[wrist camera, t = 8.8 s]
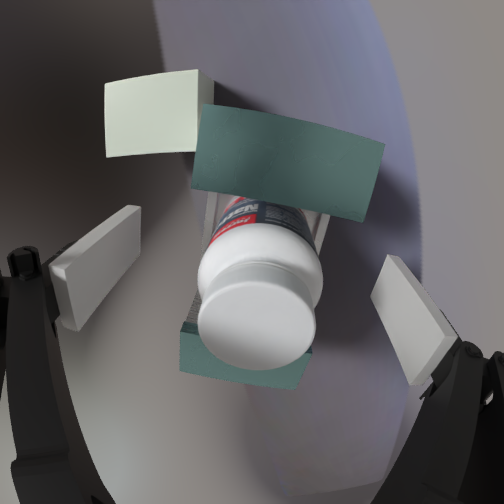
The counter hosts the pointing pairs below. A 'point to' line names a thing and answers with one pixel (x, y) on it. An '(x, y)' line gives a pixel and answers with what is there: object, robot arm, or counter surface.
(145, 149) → the block
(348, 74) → the counter surface
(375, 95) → the counter surface
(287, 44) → the counter surface
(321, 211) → the teal white block
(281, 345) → the pill bottle
